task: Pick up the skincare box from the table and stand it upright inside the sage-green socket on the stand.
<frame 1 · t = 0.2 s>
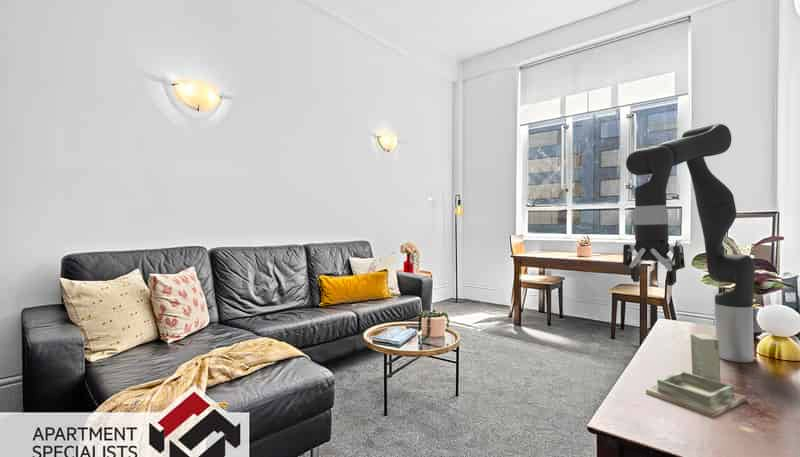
hand: (652, 283, 104), 28 cm above the table, tool pointing down, fingers open, 8 cm apart
socket stand: (694, 396, 100), on the table
skincare box: (705, 380, 110), on the table
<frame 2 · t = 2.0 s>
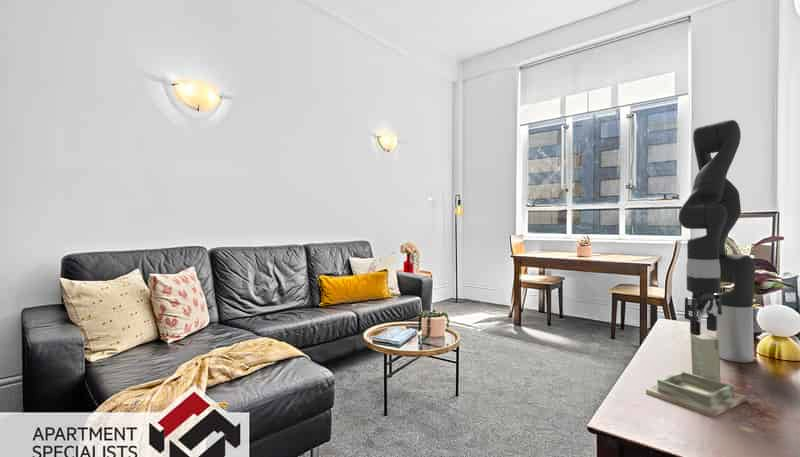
hand: (703, 332, 110), 13 cm above the table, tool pointing down, fingers open, 8 cm apart
nothing on the table moved.
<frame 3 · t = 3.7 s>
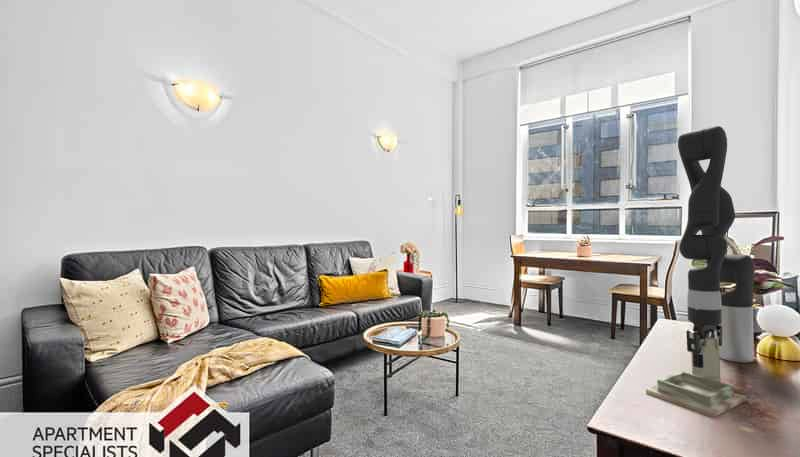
hand: (705, 364, 110), 4 cm above the table, tool pointing down, fingers closed on skincare box, 7 cm apart
skincare box: (705, 380, 110), on the table, touching gripper
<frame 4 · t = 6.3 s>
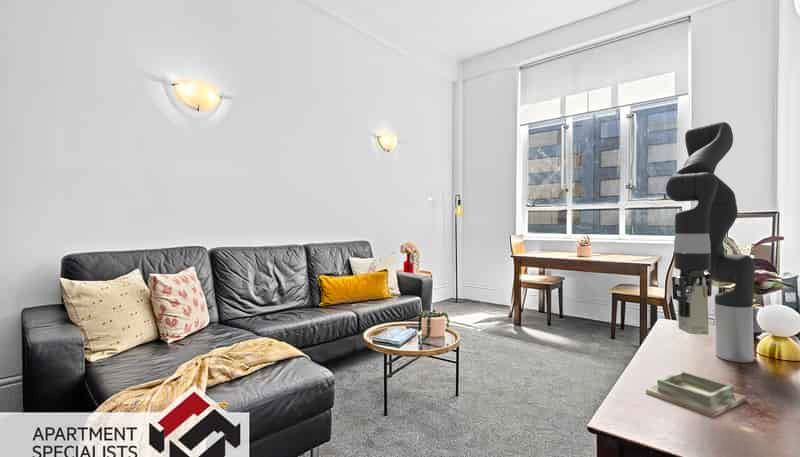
hand: (692, 315, 101), 21 cm above the table, tool pointing down, fingers closed on skincare box, 7 cm apart
skincare box: (692, 332, 101), point 16 cm above the table, touching gripper
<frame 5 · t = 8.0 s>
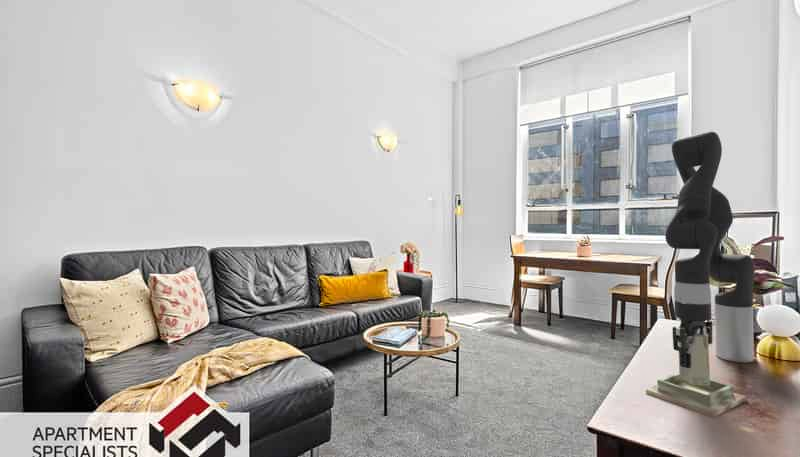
hand: (693, 364, 100), 8 cm above the table, tool pointing down, fingers closed on skincare box, 7 cm apart
skincare box: (693, 381, 100), point 4 cm above the table, touching gripper
when the fingers open (7 cm above the table, at t = 9.2 s): skincare box drops 2 cm, resting on socket stand.
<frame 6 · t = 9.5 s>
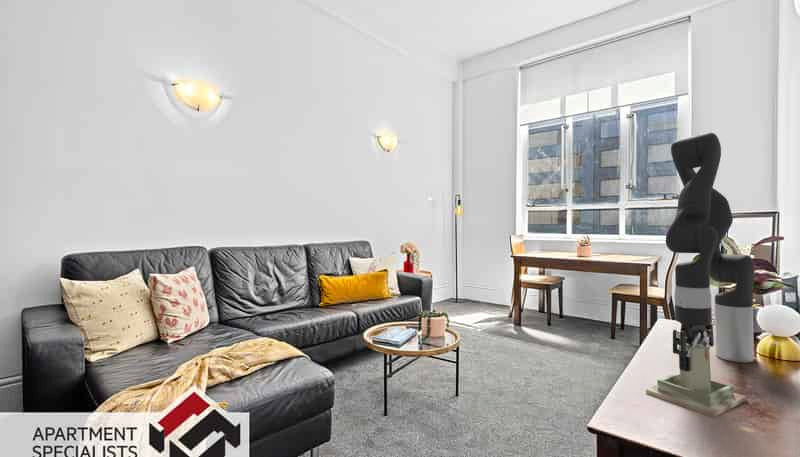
hand: (694, 367, 100), 8 cm above the table, tool pointing down, fingers open, 8 cm apart
skincare box: (695, 393, 100), point 1 cm above the table, touching socket stand
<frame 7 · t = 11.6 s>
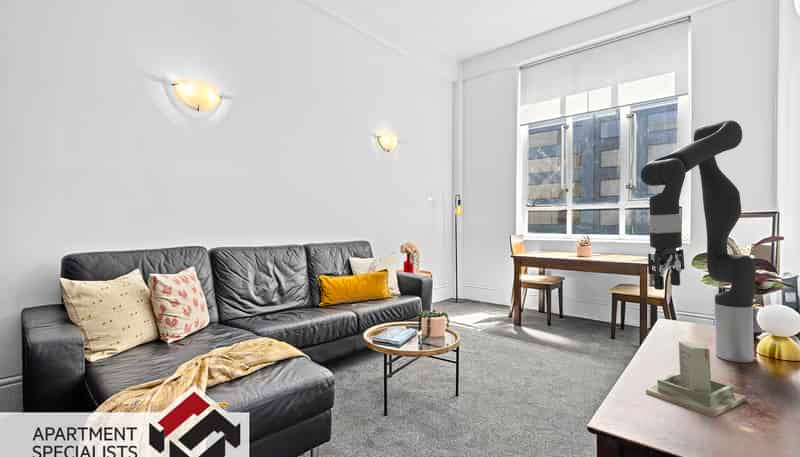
hand: (667, 287, 111), 26 cm above the table, tool pointing down, fingers open, 8 cm apart
nothing on the table moved.
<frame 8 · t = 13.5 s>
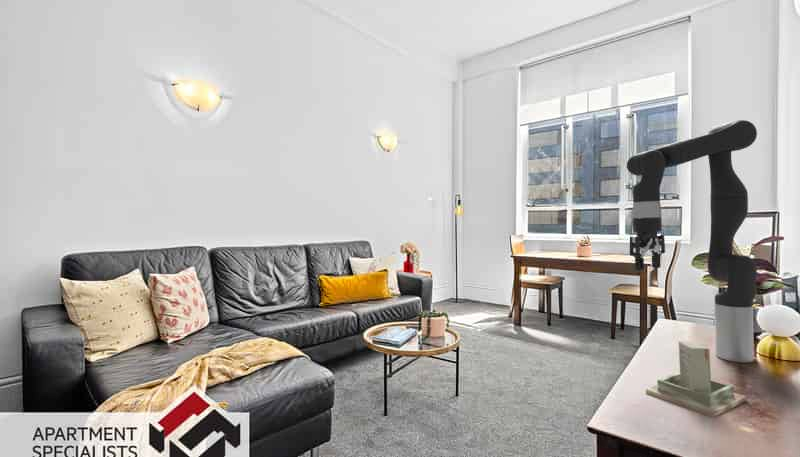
hand: (648, 268, 121), 30 cm above the table, tool pointing down, fingers open, 8 cm apart
nothing on the table moved.
at the end: skincare box 0.4 cm off-centre on the socket stand, point 0.8 cm above the socket stand's base; skincare box tilted 0°; the gripper is holding nothing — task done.
